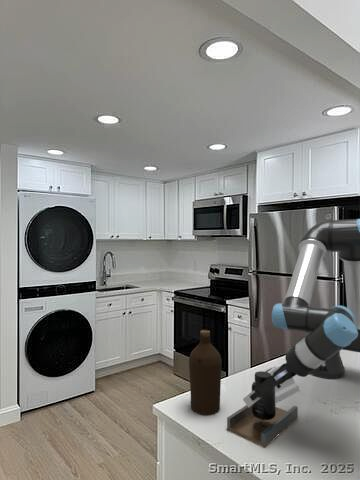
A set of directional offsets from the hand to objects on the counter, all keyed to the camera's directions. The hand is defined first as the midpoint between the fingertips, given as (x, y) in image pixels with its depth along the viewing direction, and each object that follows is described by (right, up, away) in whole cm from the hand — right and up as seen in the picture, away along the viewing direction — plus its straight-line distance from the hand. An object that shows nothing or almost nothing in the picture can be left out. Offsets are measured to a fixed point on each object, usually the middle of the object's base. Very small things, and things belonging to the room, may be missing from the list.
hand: (253, 398), depth 101 cm
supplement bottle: (+3, -4, -2) cm, 5 cm away
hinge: (+13, -7, +17) cm, 23 cm away
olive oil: (-14, -7, +7) cm, 17 cm away
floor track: (+3, -6, -2) cm, 7 cm away
